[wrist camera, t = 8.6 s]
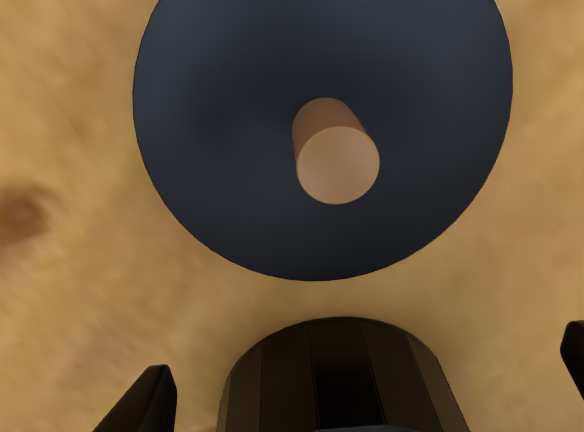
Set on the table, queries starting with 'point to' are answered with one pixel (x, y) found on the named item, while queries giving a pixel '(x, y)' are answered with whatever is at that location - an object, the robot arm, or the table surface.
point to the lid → (321, 125)
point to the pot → (339, 382)
